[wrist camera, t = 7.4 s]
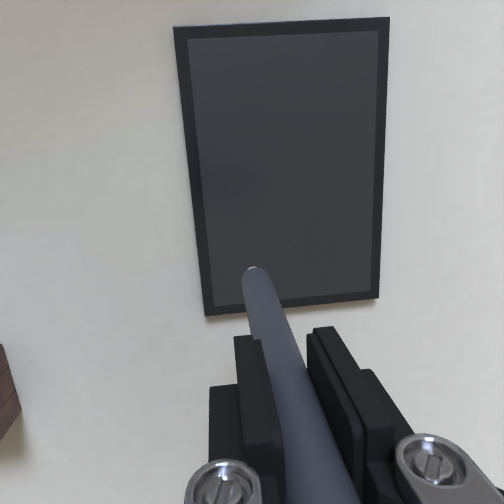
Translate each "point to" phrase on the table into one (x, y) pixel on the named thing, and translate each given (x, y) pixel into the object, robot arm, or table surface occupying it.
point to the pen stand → (7, 396)
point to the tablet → (286, 156)
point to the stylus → (296, 403)
